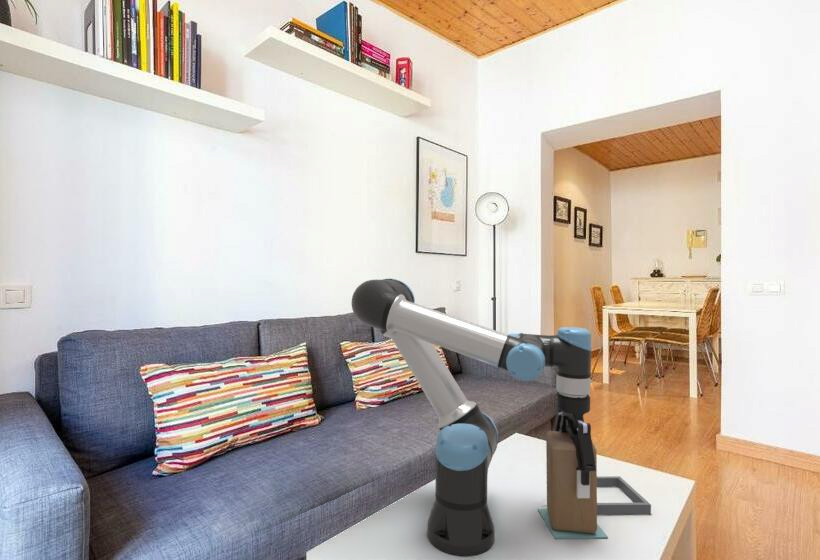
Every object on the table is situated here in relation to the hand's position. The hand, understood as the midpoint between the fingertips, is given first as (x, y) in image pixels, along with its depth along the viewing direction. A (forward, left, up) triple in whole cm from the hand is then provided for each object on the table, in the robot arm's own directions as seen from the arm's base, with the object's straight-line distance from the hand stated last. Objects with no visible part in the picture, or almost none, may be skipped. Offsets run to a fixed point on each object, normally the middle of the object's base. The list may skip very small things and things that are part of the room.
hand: (571, 483), depth 105 cm
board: (0, 0, -10) cm, 10 cm away
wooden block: (0, 0, -9) cm, 9 cm away
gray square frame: (+14, +11, -10) cm, 20 cm away
